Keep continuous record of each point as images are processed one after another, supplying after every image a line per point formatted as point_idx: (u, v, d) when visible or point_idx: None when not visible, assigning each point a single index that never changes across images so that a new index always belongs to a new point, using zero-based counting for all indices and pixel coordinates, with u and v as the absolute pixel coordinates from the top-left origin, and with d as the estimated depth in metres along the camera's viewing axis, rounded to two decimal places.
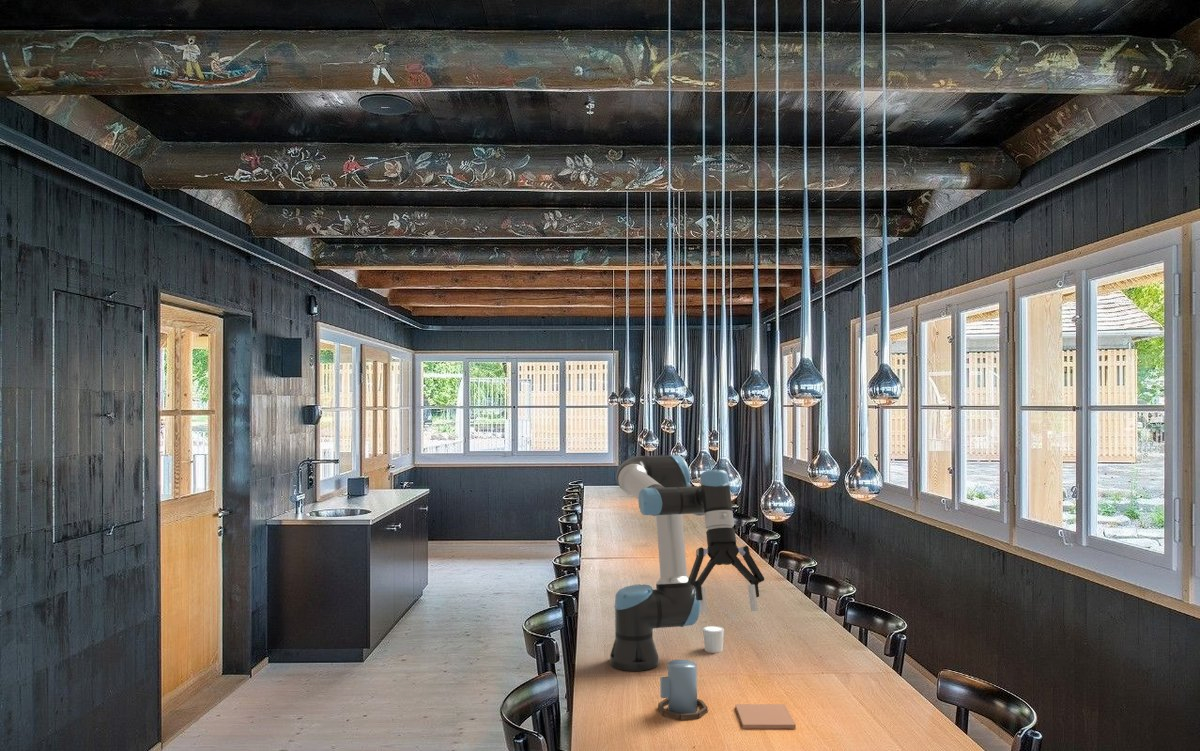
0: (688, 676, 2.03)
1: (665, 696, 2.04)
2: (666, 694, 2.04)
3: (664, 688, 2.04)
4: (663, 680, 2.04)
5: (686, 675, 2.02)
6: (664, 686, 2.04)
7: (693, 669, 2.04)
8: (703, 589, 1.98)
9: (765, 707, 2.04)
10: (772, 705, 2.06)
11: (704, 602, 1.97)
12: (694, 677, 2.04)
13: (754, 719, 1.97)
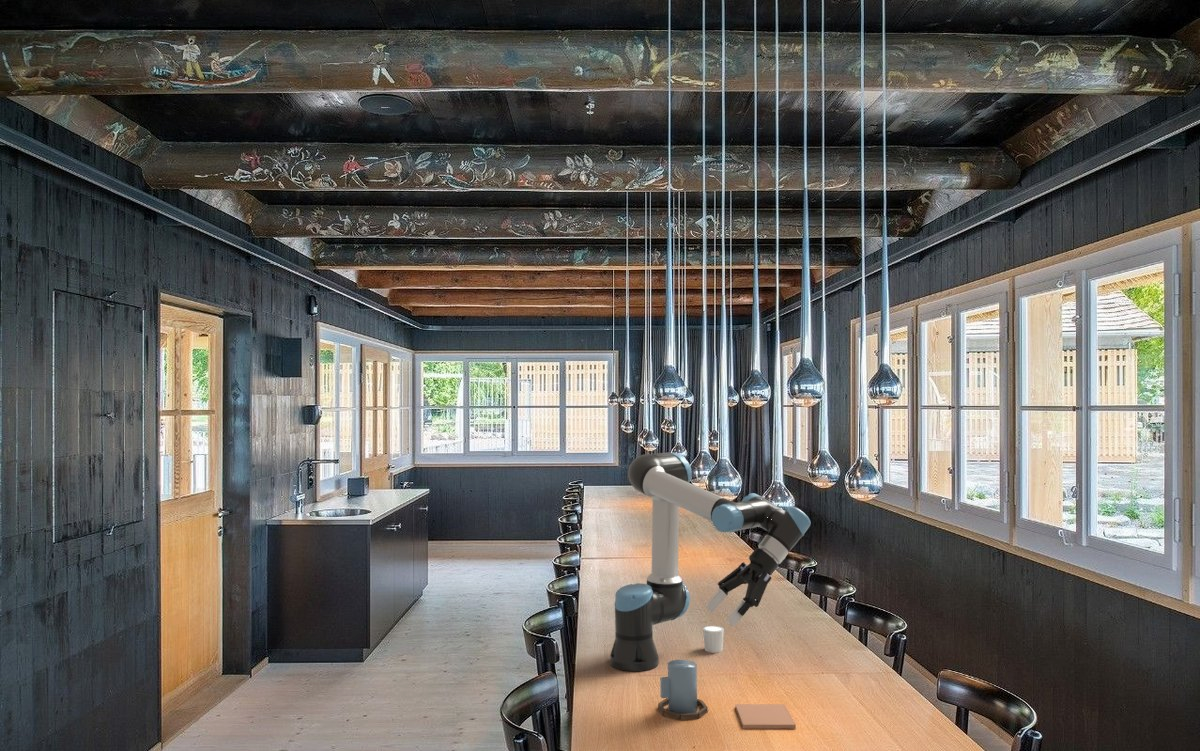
0: (688, 676, 2.03)
1: (665, 696, 2.04)
2: (666, 694, 2.04)
3: (664, 688, 2.04)
4: (663, 680, 2.04)
5: (686, 675, 2.02)
6: (664, 686, 2.04)
7: (693, 669, 2.03)
8: None
9: (765, 707, 2.04)
10: (772, 705, 2.06)
11: None
12: (694, 677, 2.04)
13: (754, 719, 1.97)
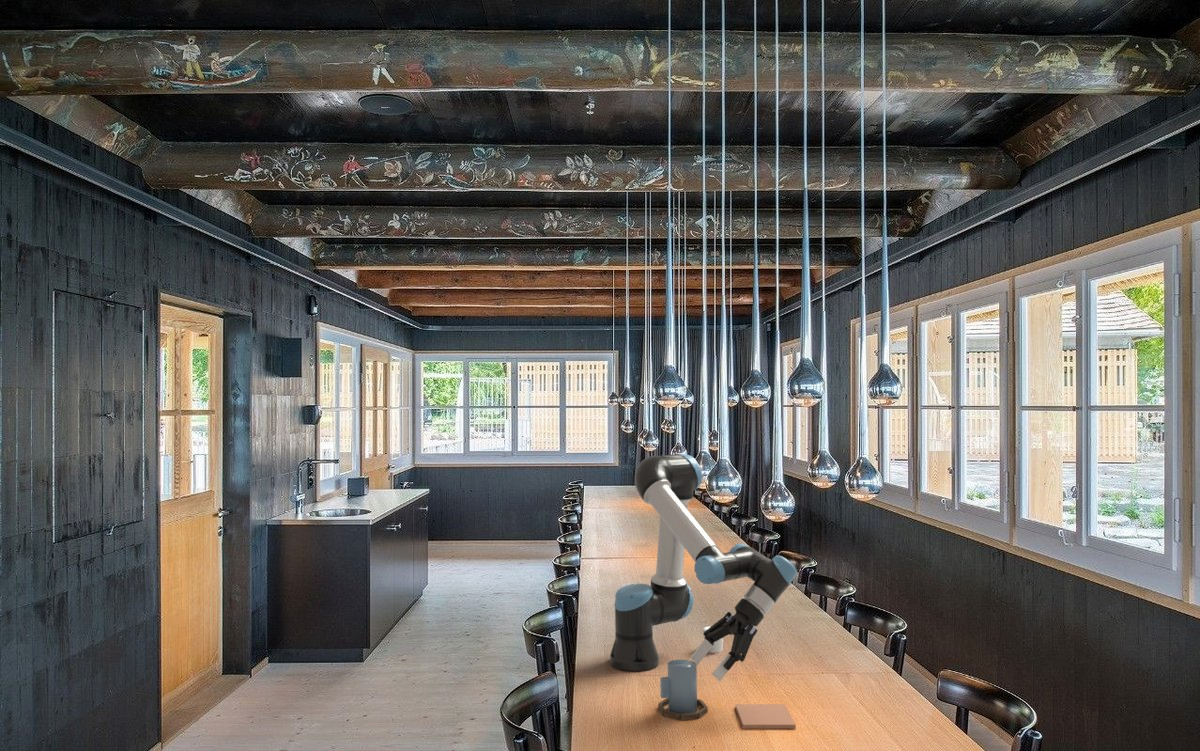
0: (688, 676, 2.03)
1: (665, 696, 2.04)
2: (666, 694, 2.04)
3: (664, 688, 2.04)
4: (663, 680, 2.04)
5: (686, 675, 2.02)
6: (664, 686, 2.04)
7: (693, 669, 2.04)
8: None
9: (765, 707, 2.04)
10: (772, 705, 2.06)
11: None
12: (694, 677, 2.04)
13: (754, 719, 1.97)
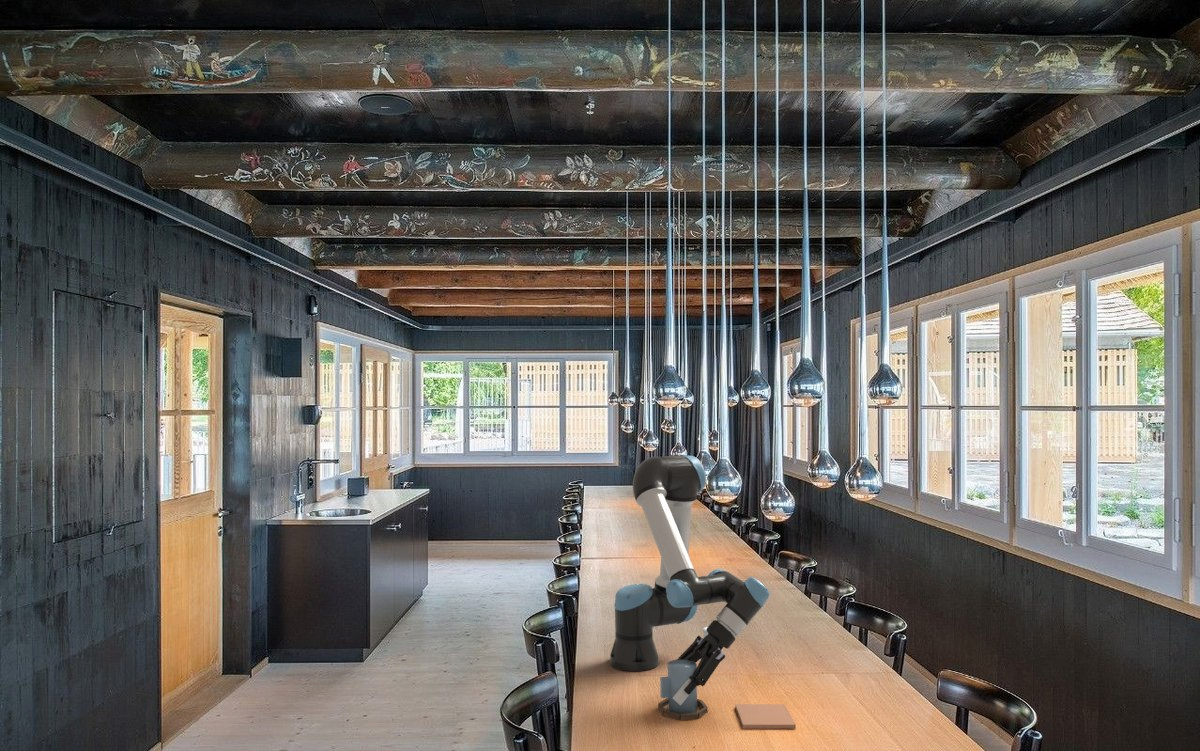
0: (688, 676, 2.03)
1: (665, 696, 2.04)
2: (666, 694, 2.04)
3: (664, 688, 2.04)
4: (663, 680, 2.04)
5: (686, 675, 2.02)
6: (664, 686, 2.04)
7: (693, 669, 2.03)
8: None
9: (765, 707, 2.04)
10: (772, 705, 2.06)
11: None
12: None
13: (754, 719, 1.97)
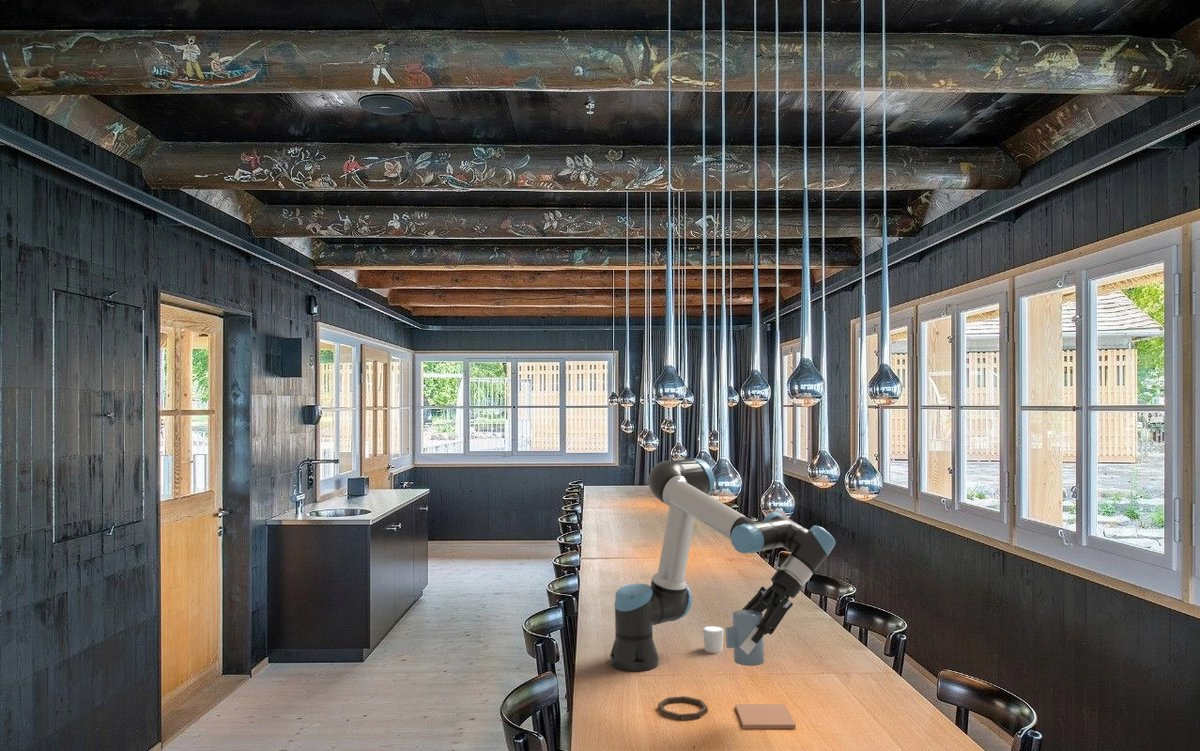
0: (755, 625, 1.98)
1: (731, 646, 1.99)
2: (732, 644, 1.99)
3: (730, 638, 1.99)
4: (729, 629, 1.99)
5: (753, 623, 1.97)
6: (730, 635, 1.99)
7: (760, 618, 1.99)
8: None
9: (765, 707, 2.04)
10: (772, 705, 2.06)
11: None
12: None
13: (754, 719, 1.97)
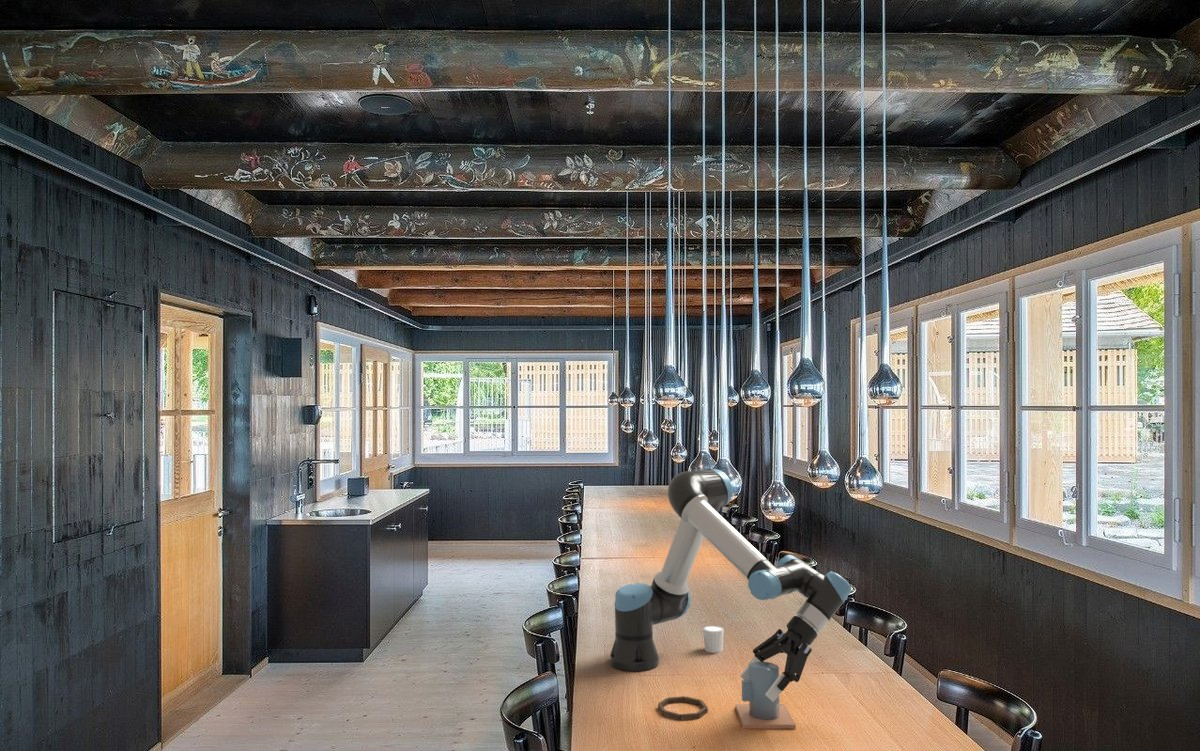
0: (771, 679, 1.97)
1: (747, 699, 1.99)
2: (748, 697, 1.99)
3: (746, 691, 1.99)
4: (745, 683, 1.99)
5: (769, 677, 1.97)
6: (746, 689, 1.99)
7: (776, 672, 1.98)
8: None
9: None
10: None
11: None
12: None
13: (754, 719, 1.97)
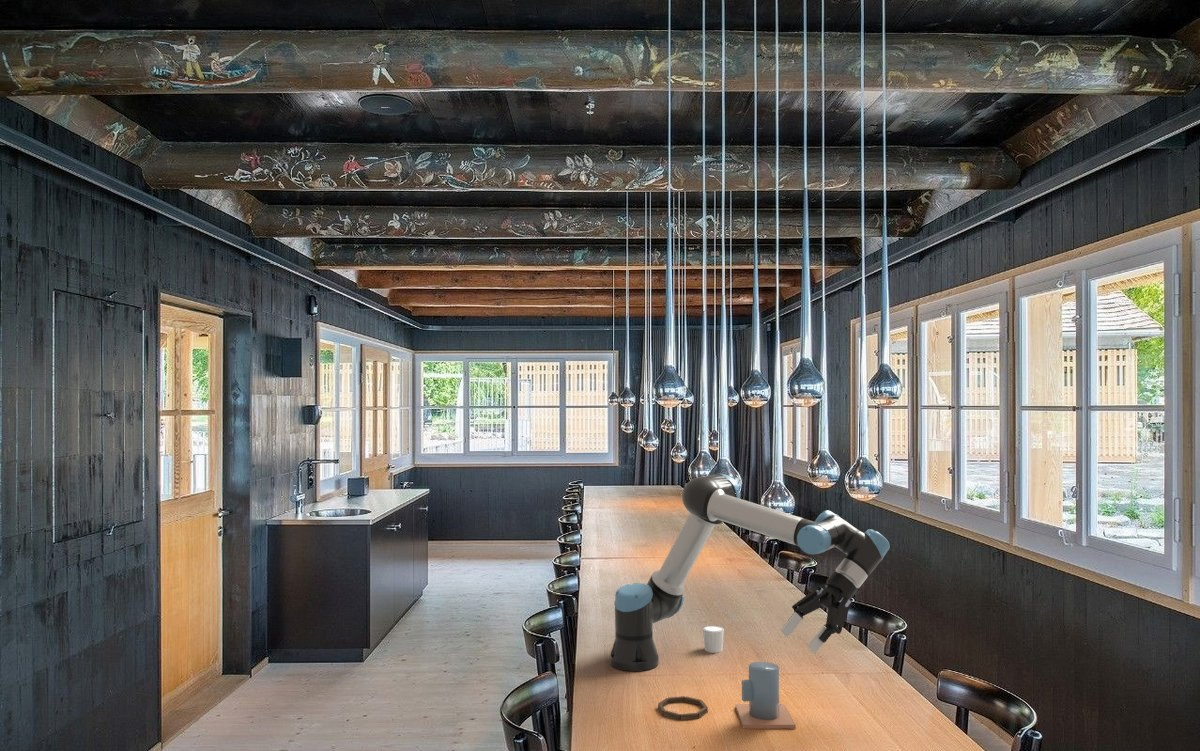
0: (771, 679, 1.97)
1: (747, 699, 1.99)
2: (748, 697, 1.99)
3: (746, 691, 1.99)
4: (745, 683, 1.99)
5: (769, 677, 1.97)
6: (746, 689, 1.99)
7: (776, 672, 1.98)
8: None
9: None
10: None
11: None
12: (777, 680, 1.98)
13: (754, 719, 1.97)
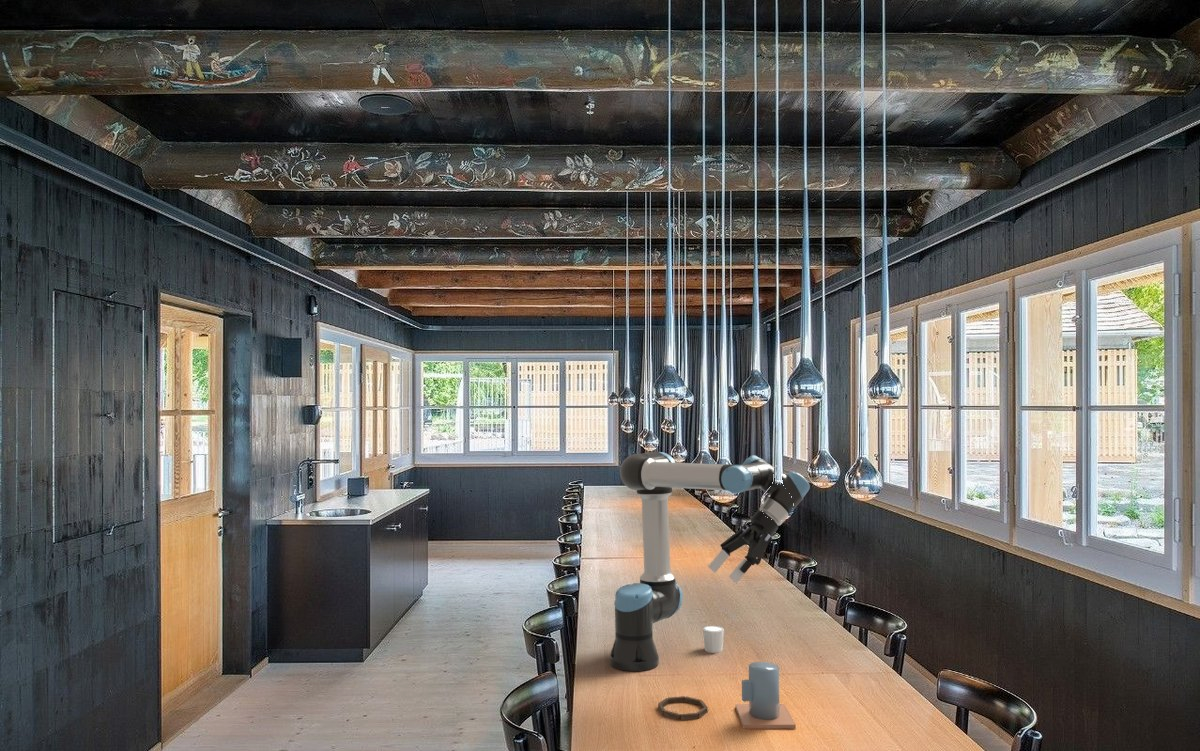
0: (771, 679, 1.97)
1: (747, 699, 1.99)
2: (748, 697, 1.99)
3: (746, 691, 1.99)
4: (745, 683, 1.99)
5: (769, 677, 1.97)
6: (746, 689, 1.99)
7: (776, 672, 1.98)
8: None
9: None
10: None
11: None
12: (777, 680, 1.98)
13: (754, 719, 1.97)
